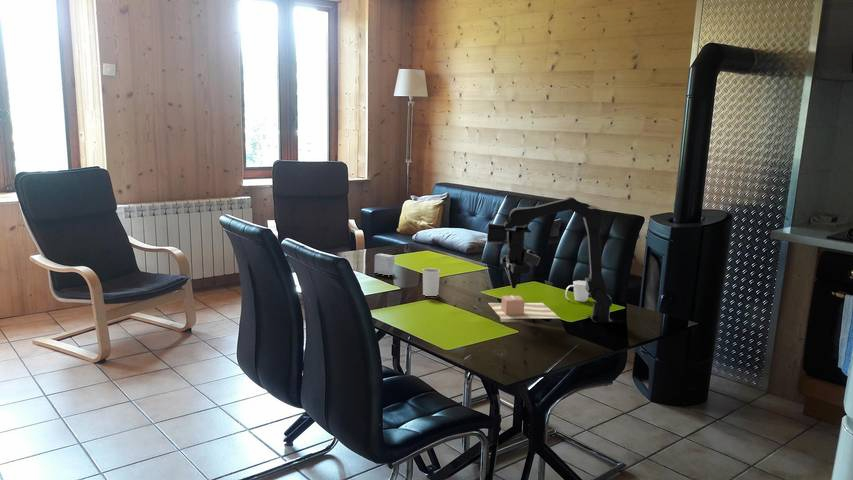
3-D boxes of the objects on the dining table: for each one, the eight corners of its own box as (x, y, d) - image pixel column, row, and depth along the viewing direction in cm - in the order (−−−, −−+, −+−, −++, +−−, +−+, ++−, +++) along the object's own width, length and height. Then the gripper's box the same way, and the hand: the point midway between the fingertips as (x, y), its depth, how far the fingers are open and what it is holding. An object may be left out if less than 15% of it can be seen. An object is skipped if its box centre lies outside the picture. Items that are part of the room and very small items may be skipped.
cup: (593, 305, 257) (594, 284, 256) (568, 305, 255) (570, 285, 253) (584, 300, 264) (586, 280, 262) (560, 301, 261) (562, 280, 260)
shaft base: (560, 321, 234) (561, 308, 233) (501, 321, 231) (501, 308, 230) (542, 306, 253) (543, 294, 252) (487, 306, 250) (488, 294, 249)
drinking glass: (442, 295, 263) (443, 270, 261) (430, 298, 258) (431, 272, 256) (430, 292, 267) (430, 267, 266) (418, 294, 263) (419, 269, 261)
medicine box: (394, 275, 296) (395, 255, 294) (388, 276, 292) (389, 257, 290) (380, 272, 300) (380, 253, 298) (373, 274, 296) (374, 254, 295)
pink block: (523, 314, 236) (524, 299, 236) (505, 314, 236) (506, 299, 235) (518, 309, 243) (519, 295, 242) (501, 309, 242) (502, 295, 241)
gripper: (547, 249, 227) (544, 294, 230) (530, 239, 245) (528, 281, 248) (514, 249, 225) (512, 294, 228) (500, 239, 244) (498, 281, 246)
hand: (513, 288), depth 238 cm, fingers closed
